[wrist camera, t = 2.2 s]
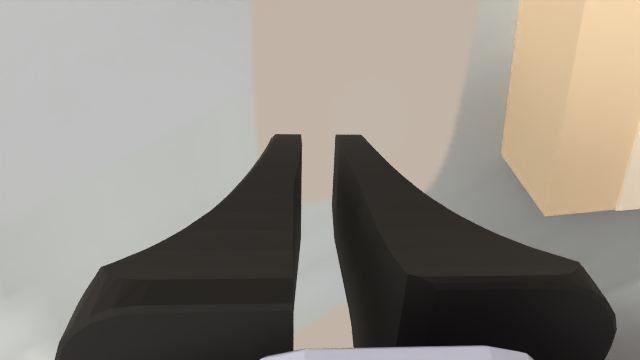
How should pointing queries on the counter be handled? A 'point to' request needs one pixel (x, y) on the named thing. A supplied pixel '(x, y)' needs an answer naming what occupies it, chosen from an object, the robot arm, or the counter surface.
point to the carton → (576, 105)
